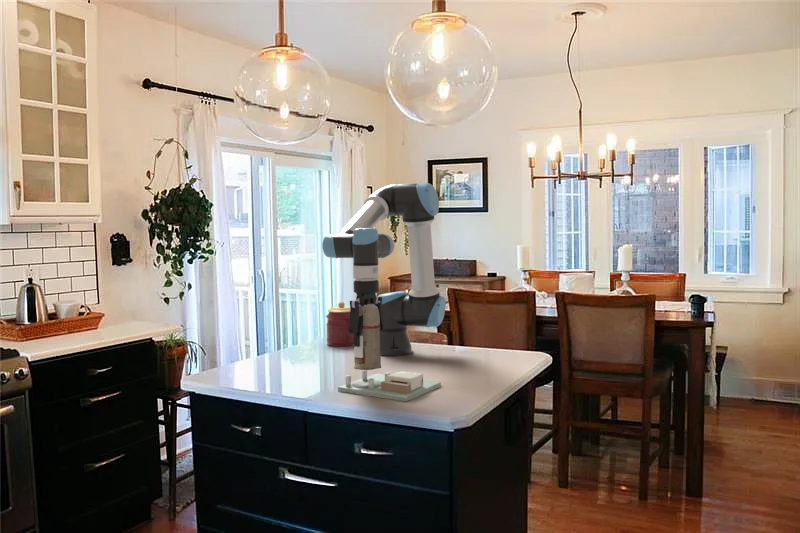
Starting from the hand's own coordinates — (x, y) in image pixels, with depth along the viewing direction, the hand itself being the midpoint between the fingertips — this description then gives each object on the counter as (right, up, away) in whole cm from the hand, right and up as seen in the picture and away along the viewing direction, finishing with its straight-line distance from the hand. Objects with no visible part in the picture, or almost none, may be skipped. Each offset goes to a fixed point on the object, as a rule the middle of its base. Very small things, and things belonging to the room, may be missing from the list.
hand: (367, 354), depth 198 cm
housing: (+12, -9, -4) cm, 15 cm away
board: (+7, -10, 0) cm, 12 cm away
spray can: (0, -4, 0) cm, 4 cm away
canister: (-14, -6, +75) cm, 76 cm away
